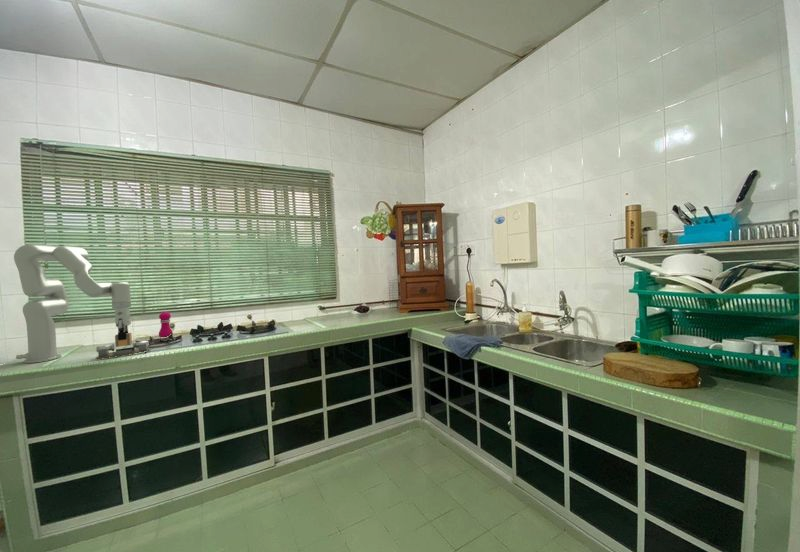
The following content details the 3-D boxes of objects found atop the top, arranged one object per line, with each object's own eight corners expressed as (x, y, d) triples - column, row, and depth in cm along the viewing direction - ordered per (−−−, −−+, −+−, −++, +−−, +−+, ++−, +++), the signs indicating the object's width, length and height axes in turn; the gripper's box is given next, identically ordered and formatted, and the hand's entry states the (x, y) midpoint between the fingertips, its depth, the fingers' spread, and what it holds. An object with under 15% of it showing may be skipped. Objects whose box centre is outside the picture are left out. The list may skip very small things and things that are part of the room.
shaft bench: (94, 360, 154) (94, 347, 154) (100, 355, 162) (99, 344, 162) (147, 353, 165) (147, 341, 165) (150, 349, 174) (149, 338, 174)
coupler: (132, 343, 167) (131, 332, 167) (130, 345, 163) (129, 333, 163) (117, 345, 164) (116, 334, 164) (115, 347, 160) (114, 335, 160)
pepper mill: (168, 341, 192) (166, 310, 192) (156, 342, 192) (154, 310, 191) (175, 339, 199) (174, 308, 199) (164, 339, 199) (162, 309, 198)
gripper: (127, 305, 158) (129, 340, 159) (133, 303, 172) (135, 335, 173) (108, 307, 154) (110, 342, 155) (115, 304, 168) (117, 337, 169)
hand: (123, 338), depth 164 cm, fingers closed on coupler, 4 cm apart
